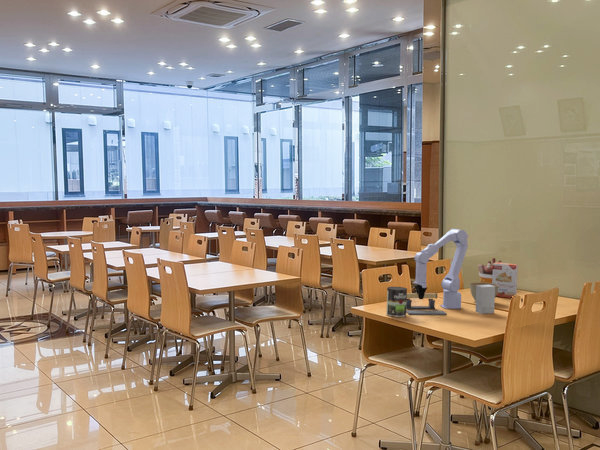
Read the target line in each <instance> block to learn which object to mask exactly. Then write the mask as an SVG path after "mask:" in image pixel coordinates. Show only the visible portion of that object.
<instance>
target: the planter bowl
mask: <svg viewBox="0 0 600 450" xmlns="http://www.w3.org/2000/svg"><path fill="white" fill-rule="evenodd" d="M476 285H492V286H495V298H496V297H497V296H496V295H497V293H498V287H499V285H497V284H492V283H481V282H471V283H469V288H470V294H471V296H472V298H473V300H474V303H476Z"/></svg>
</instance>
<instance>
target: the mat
mask: <svg viewBox="0 0 600 450" xmlns="http://www.w3.org/2000/svg"><path fill="white" fill-rule="evenodd" d="M406 314H407V315H409V316H447V312H445V311H444V310H422V309H406Z"/></svg>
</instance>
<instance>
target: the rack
mask: <svg viewBox="0 0 600 450" xmlns="http://www.w3.org/2000/svg"><path fill="white" fill-rule="evenodd" d="M427 299H428V306H427V305H412V302H413V301H412V299H411V298H407V300H406V310H429V311H436V307H435V303H436V300H435V299H434V298H427Z"/></svg>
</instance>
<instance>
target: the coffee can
mask: <svg viewBox="0 0 600 450" xmlns="http://www.w3.org/2000/svg"><path fill="white" fill-rule="evenodd" d="M407 293H408V288H407V287H402V286H388V287H386V311H385V313H386V314H387V315H386V316H388V315H389V316H388V317H392V316H395V317H394V318H403V317H406V316H407V312H406V310H407V309H406V300H407V299H408V298H407Z"/></svg>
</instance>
